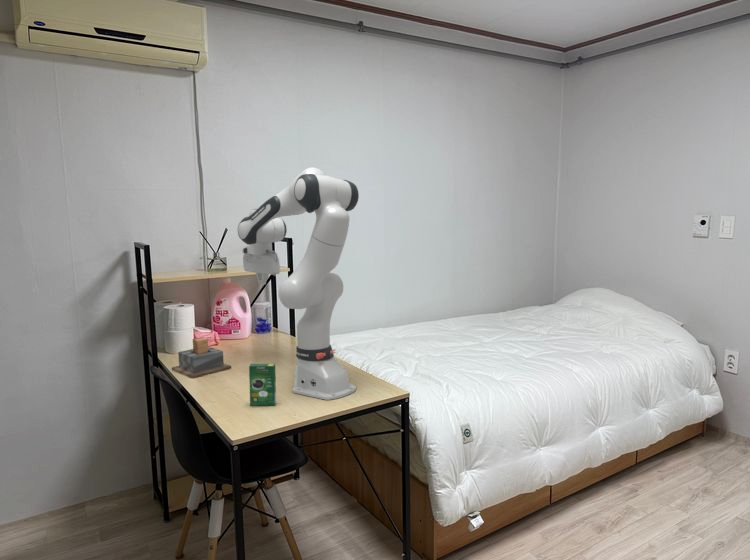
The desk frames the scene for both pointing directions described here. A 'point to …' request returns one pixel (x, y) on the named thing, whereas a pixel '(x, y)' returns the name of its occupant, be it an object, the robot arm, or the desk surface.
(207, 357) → the hole block
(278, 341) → the desk surface
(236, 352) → the desk surface
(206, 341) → the peg
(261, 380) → the coffee box
